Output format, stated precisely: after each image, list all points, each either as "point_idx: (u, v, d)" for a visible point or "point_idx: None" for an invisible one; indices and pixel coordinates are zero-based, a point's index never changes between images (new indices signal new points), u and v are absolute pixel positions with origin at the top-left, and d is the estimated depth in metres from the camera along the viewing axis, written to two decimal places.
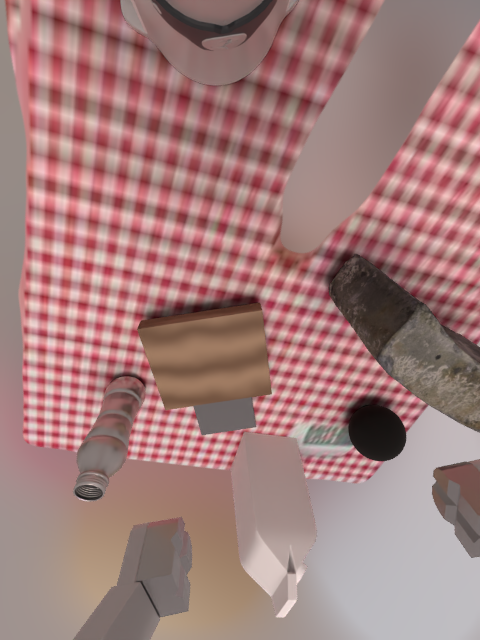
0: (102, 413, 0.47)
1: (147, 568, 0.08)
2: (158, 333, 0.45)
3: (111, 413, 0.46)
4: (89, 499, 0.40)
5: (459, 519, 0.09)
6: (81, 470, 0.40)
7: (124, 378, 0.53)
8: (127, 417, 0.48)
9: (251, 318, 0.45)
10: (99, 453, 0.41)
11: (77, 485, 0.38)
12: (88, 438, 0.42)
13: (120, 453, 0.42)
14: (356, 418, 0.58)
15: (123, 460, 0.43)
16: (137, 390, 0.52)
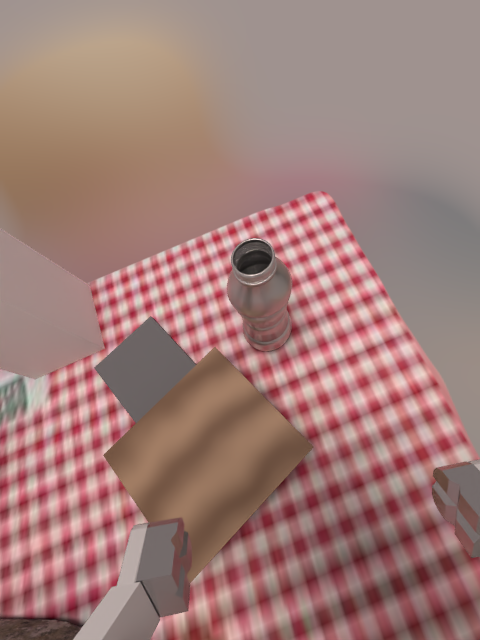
0: (284, 314, 0.35)
1: (147, 569, 0.08)
2: (287, 457, 0.33)
3: (276, 323, 0.34)
4: (244, 242, 0.27)
5: (459, 519, 0.09)
6: None
7: (280, 346, 0.41)
8: (254, 326, 0.35)
9: (195, 560, 0.31)
10: (268, 300, 0.28)
11: (273, 261, 0.25)
12: (288, 298, 0.30)
13: (240, 306, 0.29)
14: None
15: (231, 298, 0.30)
16: (259, 345, 0.40)
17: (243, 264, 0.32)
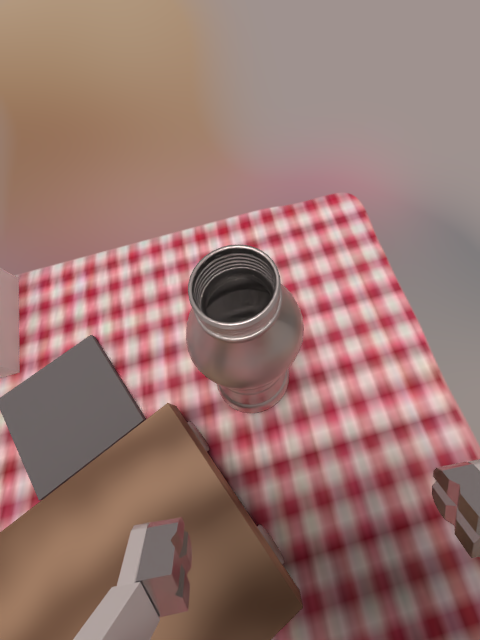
0: None
1: (148, 569, 0.08)
2: (257, 620, 0.19)
3: (266, 387, 0.21)
4: (222, 250, 0.13)
5: (459, 519, 0.09)
6: None
7: (268, 408, 0.28)
8: None
9: None
10: (256, 366, 0.15)
11: (276, 298, 0.12)
12: None
13: (204, 366, 0.16)
14: None
15: (190, 348, 0.16)
16: (237, 406, 0.26)
17: (222, 287, 0.18)
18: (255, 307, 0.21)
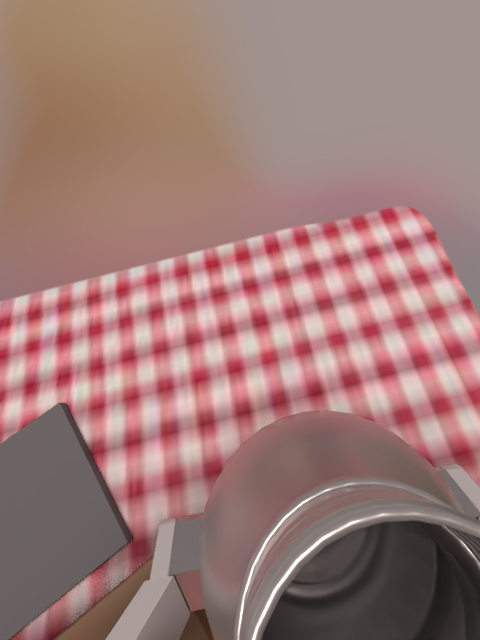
0: None
1: (180, 562, 0.08)
2: None
3: (339, 578, 0.12)
4: (346, 506, 0.04)
5: None
6: None
7: None
8: None
9: None
10: None
11: None
12: (439, 617, 0.08)
13: None
14: None
15: (209, 622, 0.07)
16: None
17: None
18: None
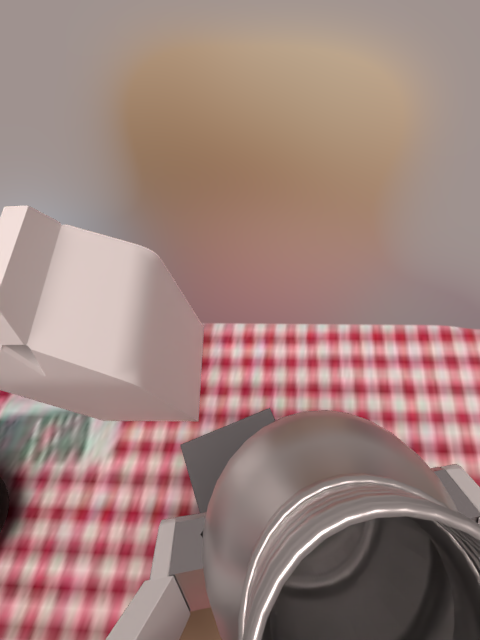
0: None
1: (180, 562, 0.08)
2: None
3: (337, 571, 0.12)
4: (343, 502, 0.04)
5: None
6: None
7: None
8: None
9: None
10: None
11: None
12: (432, 606, 0.08)
13: None
14: None
15: (213, 612, 0.07)
16: None
17: None
18: None
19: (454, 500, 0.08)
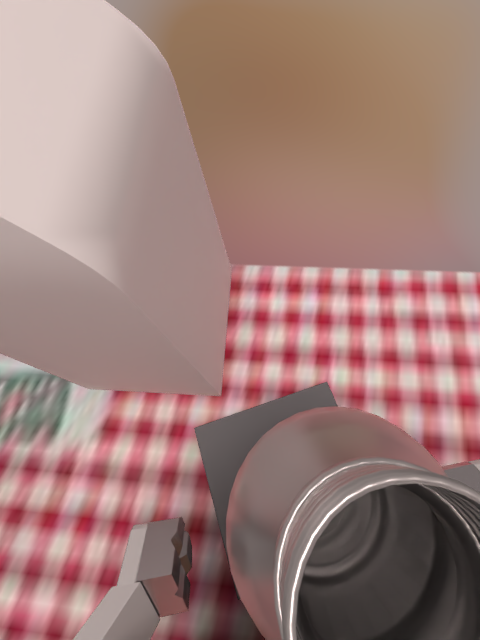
0: None
1: (148, 568, 0.08)
2: None
3: (346, 560, 0.13)
4: (363, 475, 0.05)
5: None
6: None
7: None
8: None
9: None
10: None
11: None
12: (436, 584, 0.09)
13: None
14: None
15: (239, 589, 0.08)
16: None
17: None
18: None
19: None
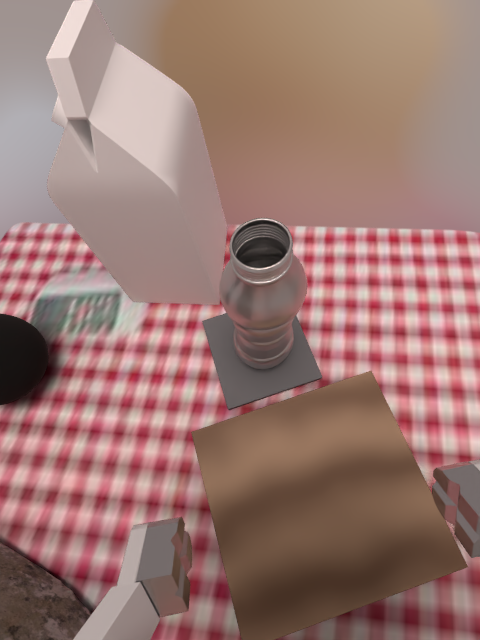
0: (289, 328, 0.27)
1: (148, 569, 0.08)
2: (426, 560, 0.24)
3: (276, 338, 0.27)
4: (251, 222, 0.19)
5: (459, 519, 0.09)
6: None
7: (276, 365, 0.33)
8: (248, 338, 0.27)
9: (260, 625, 0.23)
10: (273, 307, 0.20)
11: (289, 253, 0.18)
12: (299, 308, 0.23)
13: (234, 311, 0.22)
14: (35, 379, 0.34)
15: (223, 298, 0.22)
16: (251, 362, 0.32)
17: (245, 256, 0.24)
18: None
19: None
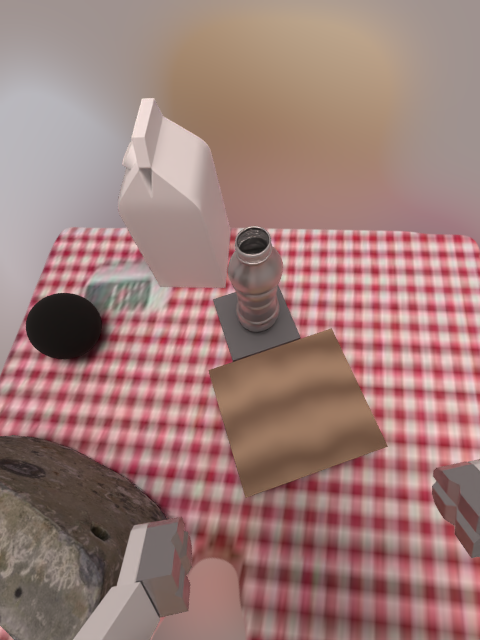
0: (274, 298, 0.41)
1: (147, 569, 0.08)
2: (361, 443, 0.37)
3: (265, 304, 0.40)
4: (247, 228, 0.32)
5: (459, 519, 0.09)
6: (270, 253, 0.34)
7: (266, 328, 0.47)
8: (247, 305, 0.41)
9: (255, 483, 0.37)
10: (261, 279, 0.34)
11: (269, 246, 0.31)
12: (278, 282, 0.36)
13: (237, 282, 0.35)
14: (94, 340, 0.47)
15: (230, 275, 0.35)
16: (249, 325, 0.46)
17: (244, 249, 0.38)
18: None
19: None
